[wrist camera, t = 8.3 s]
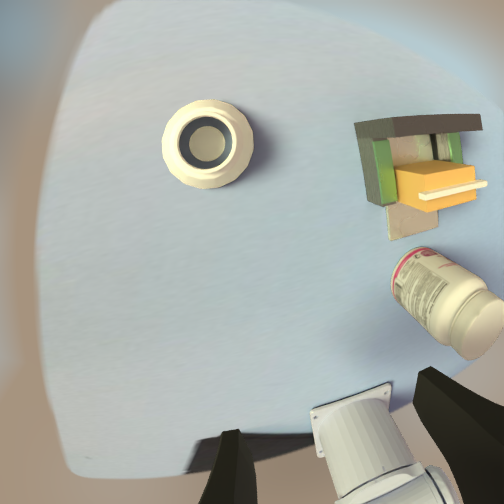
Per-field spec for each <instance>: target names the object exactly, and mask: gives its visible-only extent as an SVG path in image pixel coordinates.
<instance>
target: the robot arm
mask: <svg viewBox="0 0 504 504" xmlns="http://www.w3.org/2000/svg"><path fill="white" fill-rule="evenodd" d="M390 396H391V385H390V384H389V383H386V384H384V385H381V386H379V387H376V388H374V389H371V390H368V391H366V392H363V393H360V394H357V395H355V396H352V397H349V398H346V399H343V400H340V401H337V402H334V403H331V404H328V405H324V406H321V407H318V408H314V409H312V410H311V411H310V419H311V424H312V430H313V435H314V441H315V446H316V451H317V456H318V457H324V456H325V457H326V461H327V464H328V467H329V470H330V473H331V476H332V479H333V483H334V486H335V489H336V492H337V495H338V498H339V500H337V501H335V504H460V502H459V499H458V496H457V494H456V491H455V489H454V487H453V485H452V483H451V482H450V480H449V478H448V477H447V475H446V474H445V472H444V471H443V470H442V469H441V468H440V467H435V466H432V465H429V466H428V467H426V468H425V469H424V467H423V465H422V463H421V462H420V461H419V462H416V460H415V458H414V456H413V454H412V453H411V451H410V449H409V447H408V445H407V444H406V442H405V440H404V438H403V436H402V434H401V433H400V431H399V429H398V427H397V425H396V424H395V422H394V420H393V418H392V417H391V415H390V413H389V403H390ZM413 405H414V407H415V409H416V411H417V413H418V416H419V417H420V419H421V422H422V423H423V425H424V426H425V428H426V429H427V431H428V433H429V434H430V436H431V437H432V439H433V440H434V442H435V443H436V445H437V446H438V448H439V449H440V451H441V452H442V454H443V456H444V457H445V459H446V461H447V462H448V464H449V466H450V469H451V471H452V473H453V475H454V478H455V480H456V483H457V485H458V488H459V491H460V493H461V496H462V499H463V503H464V504H504V406H501V405H498V404H496V403H494V402H492V401H490V400H488V399H486V398H484V397H481V396H480V395H478V394H476V393H474V392H472V391H471V390H469V389H467V388H465V387H463V386H462V385H460V384H459V383H457V382H456V381H454V380H452V379H451V378H449V377H447V376H446V375H444V374H443V373H441V372H440V371H438V370H436V369H435V368H433V367H431V366H430V367H428V368H426V369H424V370H422V371H419V372H418V378H417V383H416V389H415V394H414V398H413ZM198 504H258V503H257V486H256V474H255V468H254V462H253V457H252V453H251V451H250V449H249V447H248V446H247V444H246V442H245V440H244V438H243V436H242V434H241V432H240V430H239V429H235V430H229V431H223V432H222V433H221V437H220V442H219V446H218V450H217V454H216V457H215V461H214V464H213V467H212V470H211V473H210V476H209V479H208V482H207V485H206V487H205V489H204V492H203V494H202V497H201V499H200V501H199V503H198Z"/></svg>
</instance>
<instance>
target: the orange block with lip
mask: <svg viewBox="0 0 504 504" xmlns="http://www.w3.org/2000/svg"><path fill="white" fill-rule="evenodd" d="M394 174H395V181H396V190H397V199H398V201H397V202H400V203H403V204H406V205H408V206H411V207H414V208H416V209H419V210H422V211H424V212H427V213H428V212H431V211H435V210H439V209H442V208H446V207H450V206H454V205H457V204H461V203H465V202H468V201H472V200H476V188H481V187H485V186H487V181H486V180H481V179H479V180H475V168H474V166H472V165H466V164H459V163H453V162H446V161H439V160H431V161H425V162H419V163H413V164H407V165H401V166H395V167H394Z"/></svg>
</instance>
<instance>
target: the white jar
mask: <svg viewBox="0 0 504 504" xmlns="http://www.w3.org/2000/svg"><path fill="white" fill-rule="evenodd" d="M200 117H213V118H216V119H218V120H220V121H222V122H223V123H224V124H225V125H226V126H227V127H228V128H229V130H230V132H231V135H232V139H233V145H232V150H231V152H230V154H229V156H228V158H227V159H226V160H225V161H224V162H223V163H222V164H220V165H219V166H217V167H214V168H210V169H200V168H196V167H194V166H192V165H190V164H189V163H187V162H186V161H185V159H184V158H183V157H182V155H181V152H180V149H179V139H180V135H181V133H182V131H183V129H184V128H185V127H186V125H187V124H189V123H190V122H191V121H193V120H195V119H197V118H200ZM189 148H190V151H191V153H192V154H193V156H194V157H196V158H197V159H199V160H201V161H212V160H215V159H217V158H218V157H219V156H220V155H221V154H222V153H223V151H224V148H225V138H224V136H223V134H222V133H221V132H220V131H219V130H218V129H217V128H215V127H211V126H204V127H201V128H199V129H197V130H196V131H195V132H194V133H193V134H192V136H191V138H190V141H189ZM162 150H163V158H164V160H165V162H166V164H167V166H168V168H169V170H170V172H171V173H172V174H173V175H174V176H176V177H177V178H178V179H179V180H180V181H182V182H183V183H184V184H187V185H190V186H193V187H196V188H200V189H207V188H219V187H221V186H223V185H225V184H227V183H229V182H232V181H234V180H236V178H237V177H238V176H239V175H240V174H241V173H242V172H243V171H244V170H245V169H246V167H247V166H248V164H249V161H250V158H251V155H252V153H253V150H254V146H253V131H252V129H251V127H250V125H249V123H248V121H247V119H246V117H245V116H244V115H243V114H242V113H241V112H240V111H238V110H237V109H236V108H235V107H234V106H232V105H231V104H228V103H225V102H221V101H218V100H215V99H211V100H200V101H195V102H193V103H191V104H189V105H187V106H185V107H183V108H181V109H179V110H178V111H177V113H176V114H175V115H174V116H173V117H172V118H171V119H170V121H169V122H168V123H167V126H166V129H165V132H164V135H163V138H162Z"/></svg>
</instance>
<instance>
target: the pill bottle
mask: <svg viewBox="0 0 504 504" xmlns="http://www.w3.org/2000/svg"><path fill="white" fill-rule="evenodd" d="M391 291H392V294H393V296H394V298H395V299H396V301H397V302H398V303H399V304H400V305H401V306H402V307H403V308H404V309H406V310H407V311H408V312H409V313H410V314H411V315H412V316H413V317H414V318H415V319H416V320H417V321H418V322H419V323H420V324H421V325H422V326H423V327H424V328H425V329H426V330H427V331H428V332H429V333H430V334H431V335H432V336H433V337H434V338H435V339H436V340H437V341H438V342H439V343H441V344H443V345H445V346H451V347H452V348H454V349H455V350H456V352H457V353H458V354H459V355H460V356H461V357H463V358H464V359H465V360H474V359H477V358H479V357H480V356H482V355H483V354H484V353H485V352H486V351H487V350H488V349H489V348H490V347H491V346H492V345H493V344H494V342H495V341H496V339H497V338H498V336H499V334H500V333H501V330H502V328H503V326H504V301H503V300H502V299H500V298H499V297H498V296H496V295H495V294H494V293H492V292H490V291H488V288H487V286H486V284H485V282H484V281H483V280H482V279H481V278H479V277H478V276H477V275H475V274H473V273H471V272H470V271H468V270H466V269H465V268H463V267H461V266H460V265H458V264H456V263H455V262H453V261H451V260H449V259H448V258H446V257H444V256H442V255H440V254H439V253H437V252H435V251H433V250H431V249H429V248H426V247H418V248H414V249H412V250H410V251H409V252H407V253H406V254H405V255H404V256H403V257H402V258H401V259H400V261H399V262H398V263H397V265H396V267H395V269H394V271H393V274H392V277H391Z"/></svg>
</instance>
